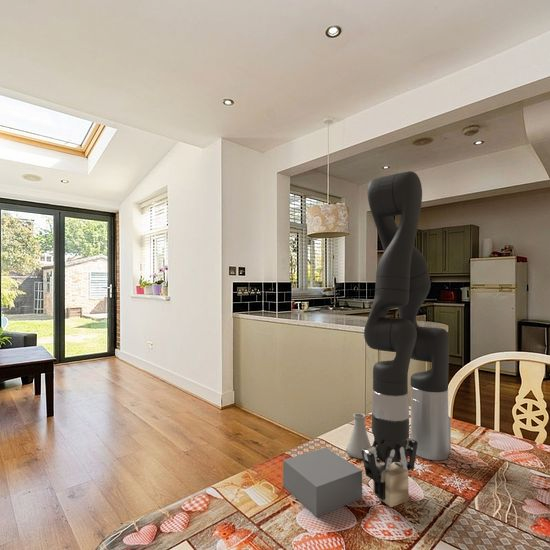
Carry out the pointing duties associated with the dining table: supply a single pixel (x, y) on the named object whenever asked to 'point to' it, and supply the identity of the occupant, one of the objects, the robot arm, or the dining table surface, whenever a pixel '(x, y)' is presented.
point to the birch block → (395, 485)
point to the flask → (358, 437)
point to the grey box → (322, 480)
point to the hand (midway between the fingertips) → (390, 493)
